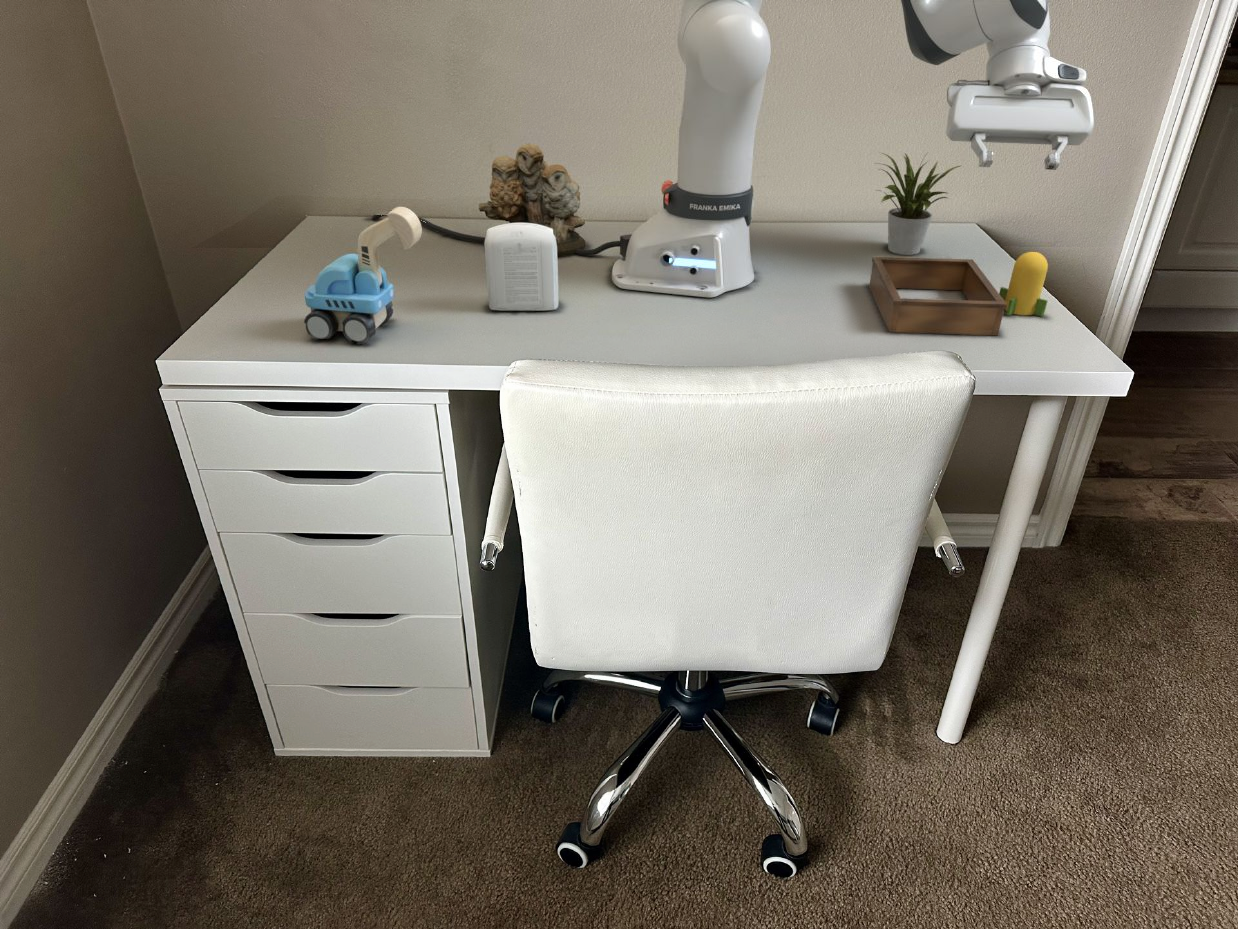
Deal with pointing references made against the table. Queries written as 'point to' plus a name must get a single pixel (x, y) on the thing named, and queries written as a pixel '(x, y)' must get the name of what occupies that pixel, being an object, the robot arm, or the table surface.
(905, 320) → the wooden box
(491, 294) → the white rounded block
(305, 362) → the table surface
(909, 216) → the house plant
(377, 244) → the toy excavator
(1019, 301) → the corn plush toy
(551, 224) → the owl figurine
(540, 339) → the table surface
